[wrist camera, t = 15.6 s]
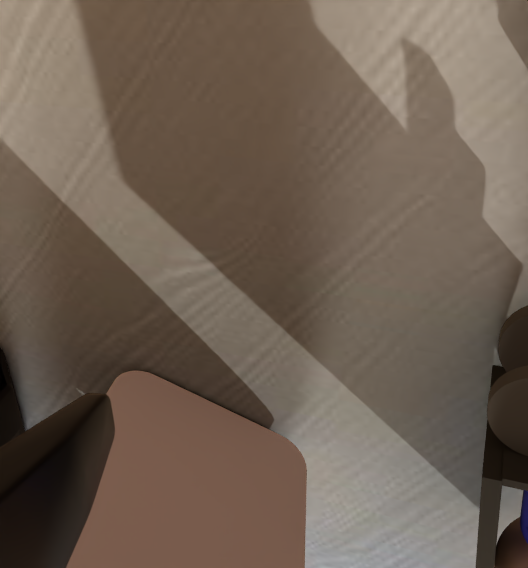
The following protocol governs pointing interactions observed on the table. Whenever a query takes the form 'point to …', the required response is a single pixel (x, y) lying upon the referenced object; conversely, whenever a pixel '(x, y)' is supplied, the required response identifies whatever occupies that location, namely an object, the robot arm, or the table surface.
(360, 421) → the table surface
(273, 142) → the table surface
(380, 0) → the table surface
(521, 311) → the character figurine
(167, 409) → the electronic device
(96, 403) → the robot arm
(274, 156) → the table surface
